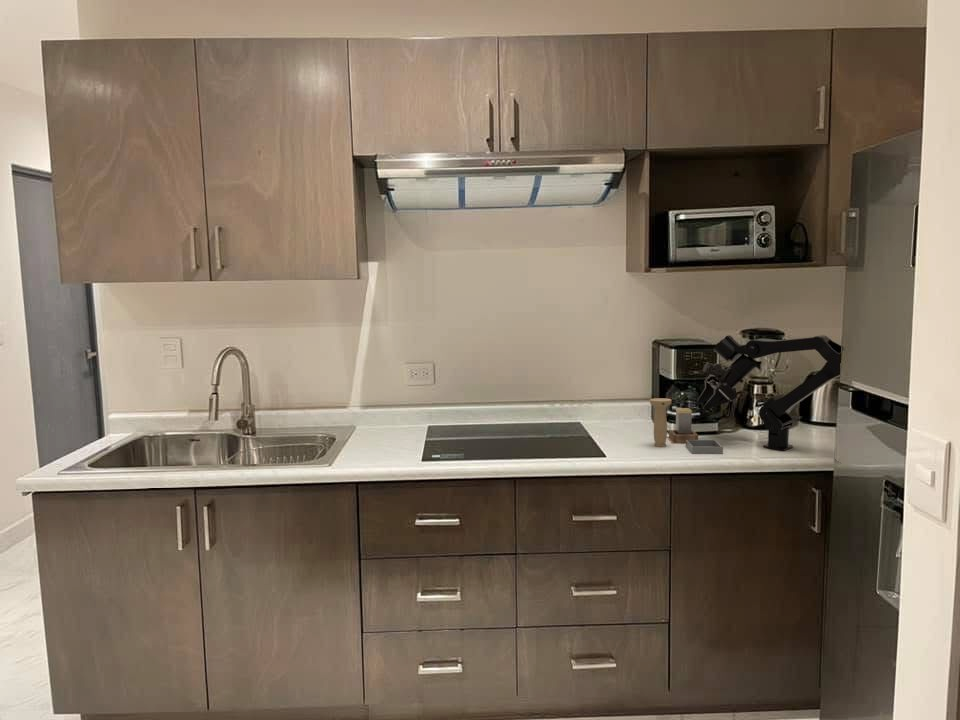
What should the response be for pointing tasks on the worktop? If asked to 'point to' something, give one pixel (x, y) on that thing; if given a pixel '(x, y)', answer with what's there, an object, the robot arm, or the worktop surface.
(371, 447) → the worktop surface
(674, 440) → the holder
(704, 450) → the tray
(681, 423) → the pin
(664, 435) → the handle
